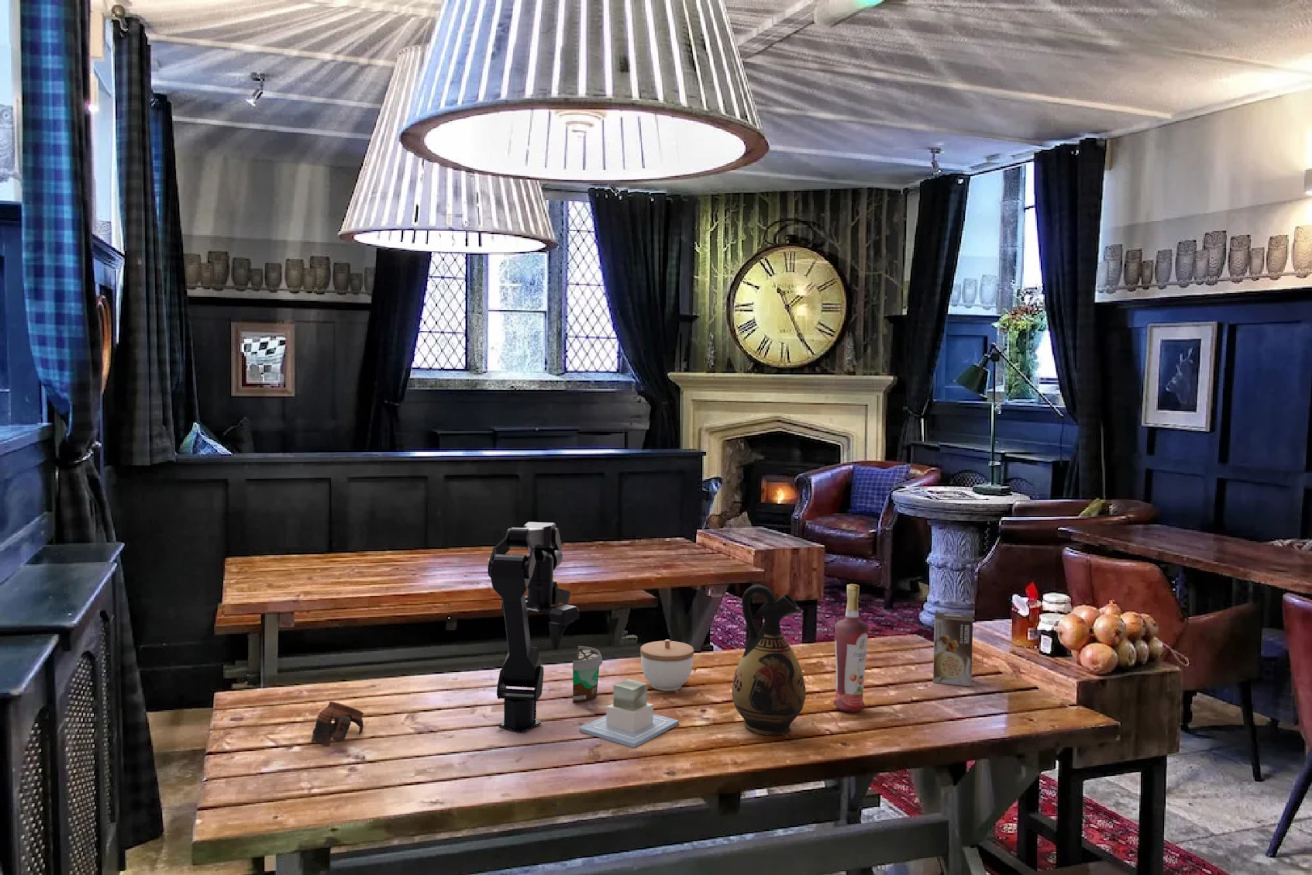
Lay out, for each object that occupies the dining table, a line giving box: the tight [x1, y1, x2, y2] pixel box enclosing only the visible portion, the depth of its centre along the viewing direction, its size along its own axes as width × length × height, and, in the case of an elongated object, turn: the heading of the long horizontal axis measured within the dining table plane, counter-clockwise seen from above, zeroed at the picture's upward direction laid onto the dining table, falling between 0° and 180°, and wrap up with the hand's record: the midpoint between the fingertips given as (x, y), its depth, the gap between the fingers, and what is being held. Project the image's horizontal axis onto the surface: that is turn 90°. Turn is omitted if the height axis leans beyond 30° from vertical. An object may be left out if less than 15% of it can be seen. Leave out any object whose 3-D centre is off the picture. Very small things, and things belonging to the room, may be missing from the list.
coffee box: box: [932, 612, 974, 687], centre depth 242 cm, size 9×6×16 cm
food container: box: [572, 645, 603, 704], centre depth 226 cm, size 12×6×10 cm, turn 179°
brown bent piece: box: [311, 701, 365, 747], centre depth 199 cm, size 12×10×8 cm
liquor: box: [833, 583, 869, 714], centre depth 220 cm, size 7×7×28 cm
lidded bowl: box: [639, 639, 695, 692], centre depth 234 cm, size 13×13×11 cm
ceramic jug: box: [731, 584, 807, 737], centre depth 209 cm, size 17×15×30 cm
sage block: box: [612, 678, 648, 711], centre depth 207 cm, size 5×5×4 cm
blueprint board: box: [578, 702, 680, 748], centre depth 207 cm, size 16×14×5 cm
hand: (539, 646), depth 224 cm, fingers open, 9 cm apart
